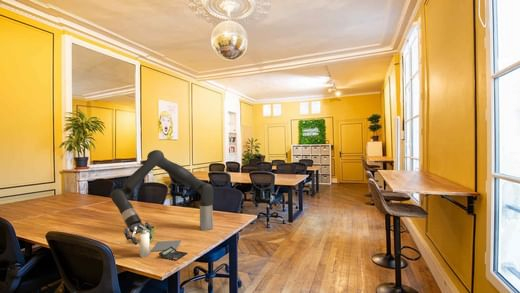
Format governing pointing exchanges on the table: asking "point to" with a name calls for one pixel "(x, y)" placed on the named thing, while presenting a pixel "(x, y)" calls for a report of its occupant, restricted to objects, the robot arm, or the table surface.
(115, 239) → the table surface
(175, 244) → the mat
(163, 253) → the calculator
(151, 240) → the plant pot
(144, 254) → the bottle
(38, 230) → the table surface
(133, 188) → the robot arm
